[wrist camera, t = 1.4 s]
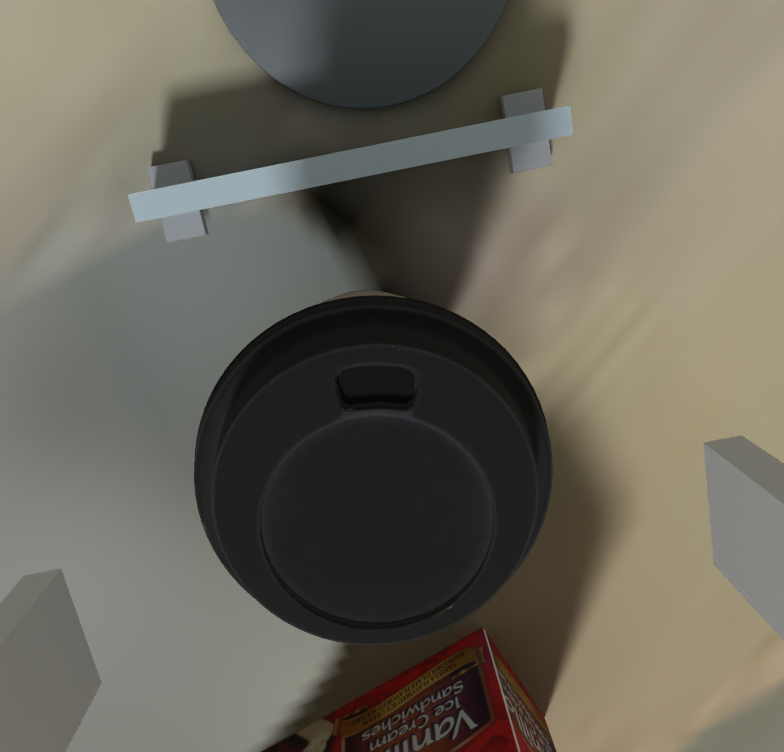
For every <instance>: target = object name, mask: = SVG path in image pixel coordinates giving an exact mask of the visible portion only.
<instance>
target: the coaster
mask: <svg viewBox="0 0 784 752" xmlns="http://www.w3.org/2000/svg"><path fill="white" fill-rule="evenodd" d="M214 2H215V5H216V7H217V9H218V12H219V13H220V15H221V17H222V19H223V20H224V22H225V24H226V25H227V27H228V29H229V31H230V32H231V34H232V35H233V36H234V38H235V39H236V40H237V42H238V43H239V44H240V46H241V47H242V48H243V49H244V51H245V52H246V53H247V54H248V55H249V56H250V57H251V58H252V59H253V60H254V61H255V62H256V63H257V64H258V65H259V66H260V67H261V68H262V69H263V70H264V71H265V72H267V73H268V74H269V75H270V76H272V77H273V78H274V79H275V80H277V81H278V82H280V83H281V84H283V85H285V86H286V87H288V88H289V89H291V90H293V91H294V92H297V93H299V94H301V95H303V96H306V97H308V98H310V99H312V100H315V101H319V102H322V103H326V104H329V105H332V106H339V107H346V108H367V109H372V108H379V107H387V106H392V105H396V104H400V103H403V102H407V101H410V100H412V99H415V98H417V97H419V96H422V95H424V94H426V93H428V92H430V91H432V90H433V89H435V88H437V87H438V86H440V85H442V84H443V83H445V82H446V81H447V80H449V79H450V78H451V77H452V76H454V75H455V74H456V73H457V72H459V71H460V70H461V69H462V68H463V67H464V66H465V65H466V64H467V63H468V62H469V61H470V60H471V59H472V57H473V56H474V55H475V54H476V53H477V52H478V51H479V49H480V48H481V47H482V45H483V44H484V43H485V41H486V40H487V39H488V37H489V36H490V34H491V33H492V31H493V29H494V27H495V26H496V24H497V22H498V20H499V18H500V17H501V14H502V12H503V10H504V7H505V5H506V2H507V0H214Z"/></svg>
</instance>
